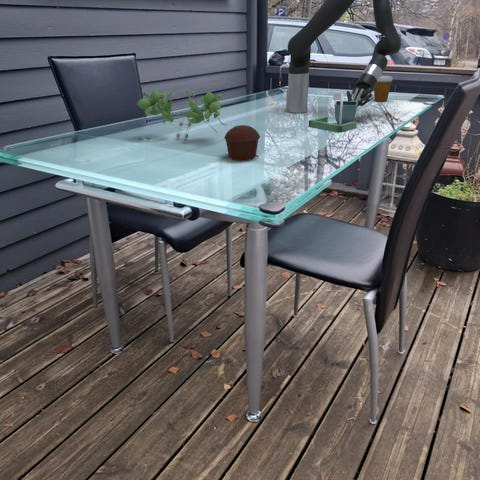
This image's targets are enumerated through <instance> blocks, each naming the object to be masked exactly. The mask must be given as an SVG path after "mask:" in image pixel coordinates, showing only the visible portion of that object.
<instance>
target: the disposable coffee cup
mask: <svg viewBox="0 0 480 480" xmlns="http://www.w3.org/2000/svg"><path fill="white" fill-rule="evenodd" d="M393 80H394V79H393V76H391V75H381V77H380V79H379V81H378V83H377V84H376V86H375V88H374V90H373V95H374V96H373V97H374V99H373V101H374V102H375V101H376V102H377V103H387V102H388V99H389V93H390V91H391V85H392V83H393V82H392V81H393ZM376 102H375V103H376Z"/></svg>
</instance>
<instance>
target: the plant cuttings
mask: <svg viewBox="0 0 480 480" xmlns="http://www.w3.org/2000/svg"><path fill="white" fill-rule="evenodd" d="M189 92H192V94H193V96H190V93H189ZM185 93H186V96H187V97H188V101H187V103H186V105H188V104H189V107H190V108H189V107H188V106H186V108H187V109H188V111H187V112H185V113H183V114H179V113H176V114H175V115H176V116H179V117H184V118H187V119H186V121H187V123H184V121H185V119H182V121H179V122H178V126H179V127H184V125H185V126H187V127H186V128H187V129H186V130H187V131H186V133H184V141H185V140H187V139H188V138H189V131H190V128H191V127H192V126H193V125H194V124H199V123H202V122H205V123H206V124H207V125H209V126H210V124H209V123H208V122H209V121H210V117H211V116H212V115H213V119H216V118H218V119H217V120H218V121H219V123H220V124H222V125H223V126H227V124H225V123H223V122H222V121H221V120H220V118H219V116H221V112H220V111H219V110H221V109H222V103H221V101H218V100H223V95H222V94H220V93H219V94H215V95H214V94H213V93H212V92H209V91H208V92H206V94H205V95H201V96H200V99H199V98H198V99H197V100H196V101H195V100H193V99H192V98H194V97H195V96H196V93H195V92H194V90H191V89H190V90H185ZM173 94H174V90H173V89H168V93H167V91H165V93H161V91H160V92H159V90H157V89H156V90H155V89H154V90H153V91H152V92H151V93H150V94H149V93H148V92H147V91H144V92H143V95H142V96H143V97H144V96H145V97H144V98H141V99H140V100H138V101H137V103H136V105H137V107H138V108H140V109H141V110H143V112H144V115H145V116H148V115H150V116H158V115H161V116H160V118H161V119H160V120H161V123H162V124H163V125H165V124H166V122H167V121H168V122H169V123H171V124H172V123H174V120H175V117H173V114H174V112H173V110H172V106H173V105H172V104H173V103H172V102H173V97H172V95H173ZM165 96H166V97H165ZM146 97H147V98H146ZM170 97H171V98H170ZM169 99H170V100H169ZM196 102H197V103H199V104H200V103H204V104H203V105H202V107H201V108H200V107H199V106H198V105H197V104H196ZM202 110H203V111H205V112H204V113H203V111H202ZM171 115H172V116H171ZM174 127H175V128H177V129H178V127H177V126H176V125H174ZM212 129H213V130H214V132H216V133H218V132H217V130H216V129H215V128H213V127H212ZM178 130H179V131H178V132H177V133H176V134H175V136H176V139H178V140H179V141H181V137H183V134H182V132H181V131H182V130H183V128H180V129H178Z"/></svg>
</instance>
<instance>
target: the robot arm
mask: <svg viewBox="0 0 480 480" xmlns="http://www.w3.org/2000/svg"><path fill="white" fill-rule="evenodd" d="M355 1H356V0H324V2H323V3H322V4H321V6H320V7H319V8H318V9H317V10H316V12H315V13H314V14H313V15H312V17H311V18H310V19H309V20H308V22H306V24H305V25H304V26H303V27H302V28H301V29H300V30H299V31H298V32H297V33H296V34H294V35H293V36H292V37H291V38H290V39H289V41H288V44H287V51H288V54H289V55H290V58H289V59H290V61H289V65H288V76H287V77H288V79H287V81H288V84H287V86H288V87H287V90H286V96H285V97H286V101H285V102H286V105H285V106H286V109H285V110H286V111H287V112H288V113H291V114H292V113H295V114H301V113H302V114H303V113H307V112H308V101H309V98H308V97H309V77H310V67H311V56H312V55H311V54H312V53H311V52H312V45H313V44H314V42H315V41H316V40H317V39H318V38H320V37H319V36H321V35H322V34H323V33H324V32H326V31H327V30H328V29H330V28H331V27H332V26H333V25H335V23H336V22H338V20H340V18H341V17H343V16H344V15H345V14H346V13H347V11H348V10H349V9H350V7H351V6H352V4H354V2H355ZM372 10H373V19H374V23H375V24H374V25H375V28H376V32H377V33H378V34H383V36H384V37H385V38H381V39H379V40H378V41H377V42H376V44H375V46H374V49H373V52H372V56H371V58H370V60H369V62H368V63H367V65H366V67H365V68H364V69H363V71H362V72H361V75H360V76H359V78H358V80H357V82H356V85H355V87H354V88H353V89H352V90H350V91H349V90H347V91H346V97H347V101H357V102H358V103H357V108H359V107H363V106H365V105H366V104H368V103H370V102H371V101H373V100H374V96H373V95H374V94H373V92H374V88H375V86H376V84H377V83H378V81H379V79H380V77H381V76H383V74H384V73H383V72H384V71H385V69H386V68H387V65H388V61H389V60H388V58H387V56H390V55H396V54H398V53H399V51H400V49H401V46H402V41H401V37H400V35H399V33H398V30H397V29H396V26H395V24H394V17H393V11H392V5H391V1H390V0H372Z"/></svg>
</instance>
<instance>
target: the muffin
mask: <svg viewBox="0 0 480 480" xmlns="http://www.w3.org/2000/svg"><path fill="white" fill-rule="evenodd" d="M223 138H224V139H225V143H226V147H227V155H228V158H229V159H231V160H232V161H240V162H241V160H242V161H250V160H253V159H252V158H254V159H255V157H257V151H258V145H259V140H260V138H261V135H260V134H259V132H258V130H257V129H255V127H252V126H250V125H246V124H245V125H243V124H242V125H235V126H233V127H232V128H230V129H229V130H228V131H227V132H226V133H225V135H224V136H223ZM249 159H250V160H249Z"/></svg>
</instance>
